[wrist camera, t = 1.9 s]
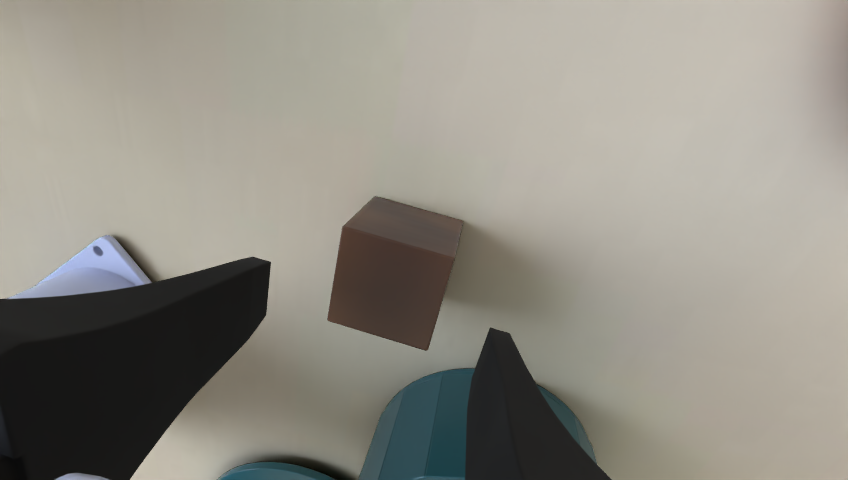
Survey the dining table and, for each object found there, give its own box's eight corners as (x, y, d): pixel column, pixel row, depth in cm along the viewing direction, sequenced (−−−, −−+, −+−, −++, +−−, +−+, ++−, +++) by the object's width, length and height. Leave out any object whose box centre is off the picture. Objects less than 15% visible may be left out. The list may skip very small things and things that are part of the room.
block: (359, 274, 19) (326, 321, 15) (374, 195, 17) (341, 225, 14) (441, 299, 19) (427, 351, 15) (463, 220, 17) (455, 258, 14)
